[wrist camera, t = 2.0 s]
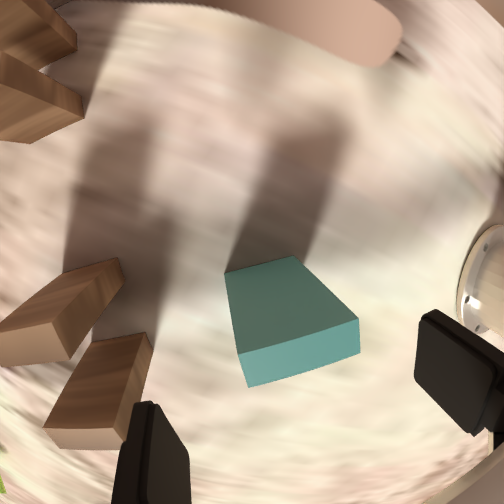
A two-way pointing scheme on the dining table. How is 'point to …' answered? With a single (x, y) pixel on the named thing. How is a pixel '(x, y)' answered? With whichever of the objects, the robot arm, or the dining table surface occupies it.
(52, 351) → the domino
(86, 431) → the domino
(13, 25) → the domino
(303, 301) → the domino
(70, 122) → the domino
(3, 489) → the teapot
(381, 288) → the dining table surface
